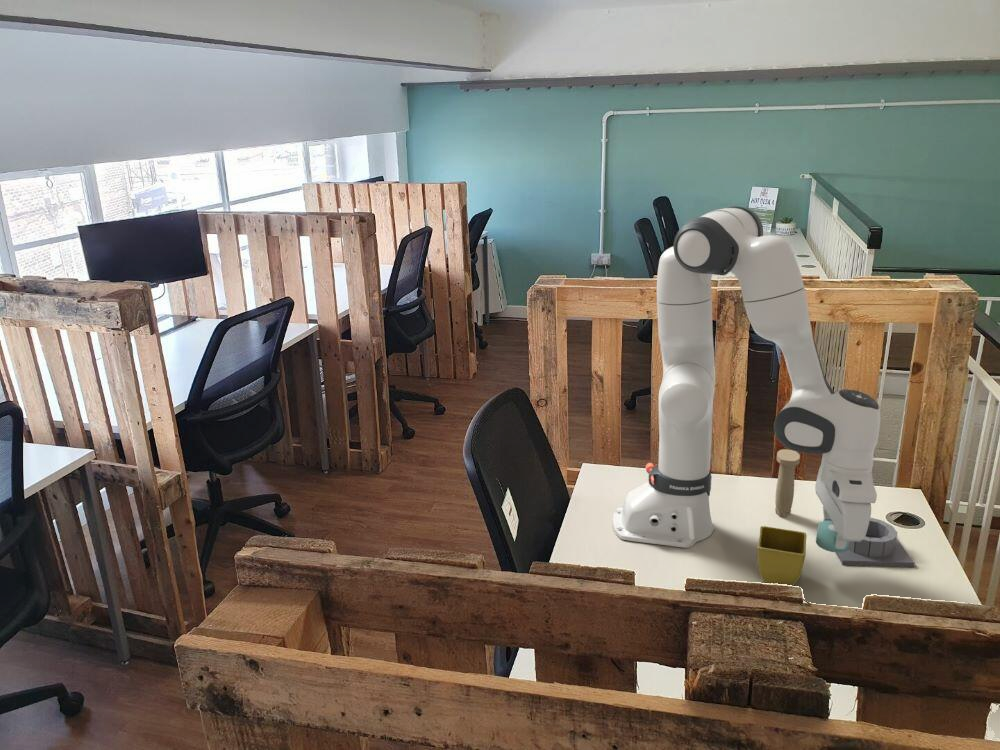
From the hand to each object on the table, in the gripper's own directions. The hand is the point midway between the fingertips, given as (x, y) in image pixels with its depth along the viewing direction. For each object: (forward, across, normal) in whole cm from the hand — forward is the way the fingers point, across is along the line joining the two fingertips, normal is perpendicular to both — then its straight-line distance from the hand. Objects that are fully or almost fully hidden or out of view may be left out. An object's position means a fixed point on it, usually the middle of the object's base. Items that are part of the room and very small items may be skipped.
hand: (833, 536), depth 152 cm
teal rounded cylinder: (+2, 0, 0) cm, 2 cm away
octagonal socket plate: (+9, -12, +11) cm, 18 cm away
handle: (+10, -26, -3) cm, 27 cm away
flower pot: (+10, +2, -10) cm, 14 cm away
